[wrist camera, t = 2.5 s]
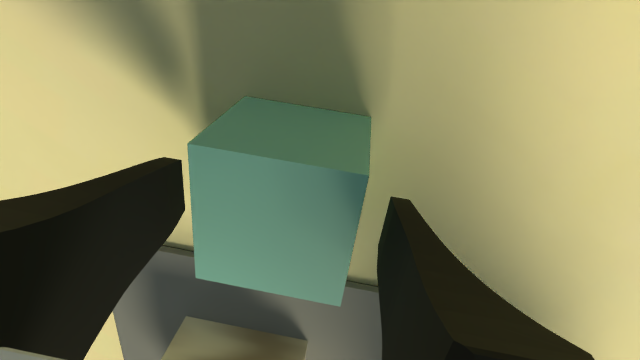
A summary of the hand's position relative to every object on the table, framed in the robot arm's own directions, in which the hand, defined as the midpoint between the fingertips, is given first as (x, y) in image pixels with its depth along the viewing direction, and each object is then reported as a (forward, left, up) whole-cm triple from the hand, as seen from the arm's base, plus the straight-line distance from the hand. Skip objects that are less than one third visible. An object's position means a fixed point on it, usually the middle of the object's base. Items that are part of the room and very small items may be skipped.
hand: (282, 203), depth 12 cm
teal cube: (0, 0, -3) cm, 3 cm away
